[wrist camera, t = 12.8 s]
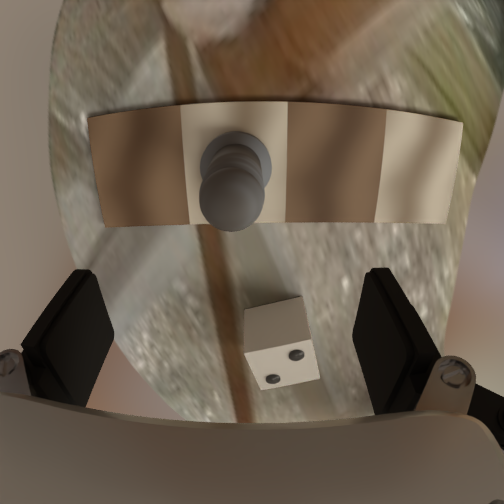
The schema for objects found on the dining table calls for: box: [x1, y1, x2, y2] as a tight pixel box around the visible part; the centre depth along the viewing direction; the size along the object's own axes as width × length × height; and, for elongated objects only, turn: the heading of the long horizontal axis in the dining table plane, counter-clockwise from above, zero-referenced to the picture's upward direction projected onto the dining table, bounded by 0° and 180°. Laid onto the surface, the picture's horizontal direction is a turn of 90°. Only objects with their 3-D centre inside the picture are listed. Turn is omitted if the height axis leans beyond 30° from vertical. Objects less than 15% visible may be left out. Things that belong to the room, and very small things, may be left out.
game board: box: [87, 101, 463, 228], centre depth 25 cm, size 32×10×1 cm, turn 91°
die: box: [244, 296, 320, 390], centre depth 31 cm, size 6×6×6 cm
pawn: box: [199, 131, 272, 232], centre depth 20 cm, size 5×5×9 cm
